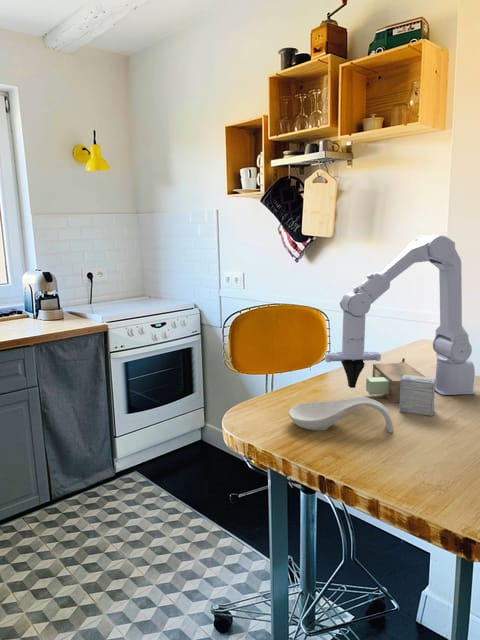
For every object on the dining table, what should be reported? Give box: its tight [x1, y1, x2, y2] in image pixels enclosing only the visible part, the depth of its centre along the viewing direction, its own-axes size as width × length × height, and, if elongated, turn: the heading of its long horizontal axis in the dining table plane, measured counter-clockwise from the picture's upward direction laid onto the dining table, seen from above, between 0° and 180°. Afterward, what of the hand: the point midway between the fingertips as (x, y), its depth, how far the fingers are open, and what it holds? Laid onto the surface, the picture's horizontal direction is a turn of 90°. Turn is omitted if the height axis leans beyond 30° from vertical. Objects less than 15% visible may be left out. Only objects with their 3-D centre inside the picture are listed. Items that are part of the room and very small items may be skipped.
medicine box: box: [398, 375, 436, 417], centre depth 123 cm, size 8×4×9 cm, turn 65°
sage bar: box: [365, 376, 390, 396], centre depth 134 cm, size 9×4×4 cm, turn 94°
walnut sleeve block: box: [372, 362, 426, 403], centre depth 138 cm, size 10×16×6 cm, turn 3°
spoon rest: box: [288, 396, 394, 434], centre depth 115 cm, size 24×12×7 cm, turn 81°
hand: (351, 386), depth 133 cm, fingers closed
